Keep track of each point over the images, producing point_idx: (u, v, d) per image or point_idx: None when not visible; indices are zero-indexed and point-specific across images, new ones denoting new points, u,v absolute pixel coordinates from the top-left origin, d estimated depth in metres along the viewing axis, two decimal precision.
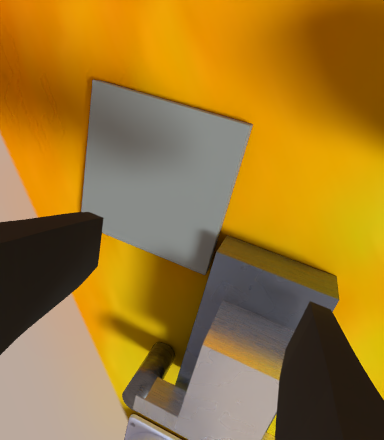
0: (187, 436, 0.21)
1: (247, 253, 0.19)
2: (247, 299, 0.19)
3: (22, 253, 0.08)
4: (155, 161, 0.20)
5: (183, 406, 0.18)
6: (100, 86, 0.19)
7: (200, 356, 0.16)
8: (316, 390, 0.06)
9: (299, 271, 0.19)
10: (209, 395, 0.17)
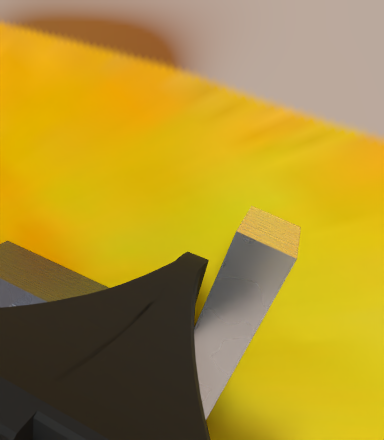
0: None
1: None
2: None
3: None
4: None
5: None
6: None
7: None
8: None
9: None
10: None
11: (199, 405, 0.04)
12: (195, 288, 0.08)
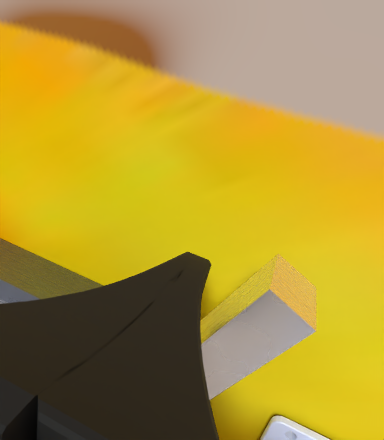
0: None
1: None
2: None
3: None
4: None
5: None
6: None
7: None
8: None
9: None
10: None
11: (209, 410, 0.04)
12: (200, 290, 0.08)
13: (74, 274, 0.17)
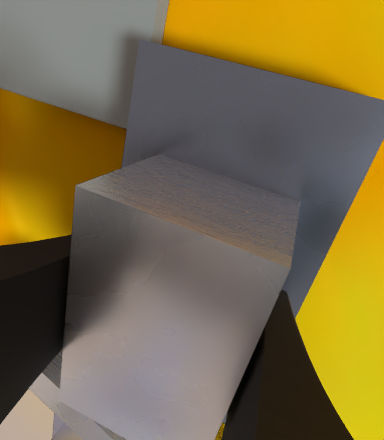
0: (86, 439, 0.13)
1: None
2: (203, 145, 0.09)
3: (64, 273, 0.08)
4: None
5: (65, 353, 0.09)
6: None
7: (76, 220, 0.07)
8: (255, 362, 0.07)
9: None
10: (108, 321, 0.08)
11: None
12: (299, 333, 0.07)
13: None
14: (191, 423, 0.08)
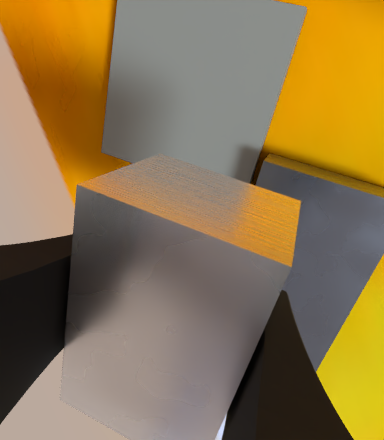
0: None
1: (297, 166, 0.17)
2: None
3: (64, 273, 0.08)
4: (190, 65, 0.17)
5: (66, 352, 0.09)
6: None
7: (77, 219, 0.07)
8: (255, 362, 0.07)
9: (358, 183, 0.16)
10: (109, 320, 0.08)
11: None
12: (299, 333, 0.07)
13: None
14: (192, 421, 0.08)
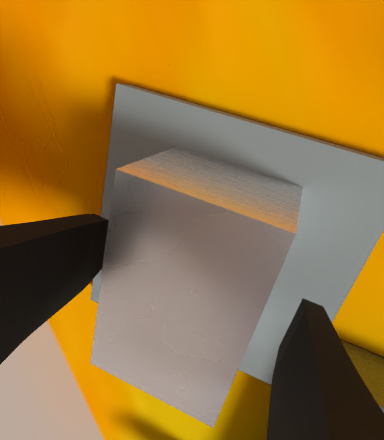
0: None
1: (382, 382, 0.11)
2: None
3: (29, 256, 0.08)
4: None
5: (99, 318, 0.10)
6: (129, 94, 0.11)
7: (115, 199, 0.08)
8: (306, 385, 0.07)
9: None
10: (139, 286, 0.09)
11: None
12: None
13: None
14: (209, 375, 0.09)
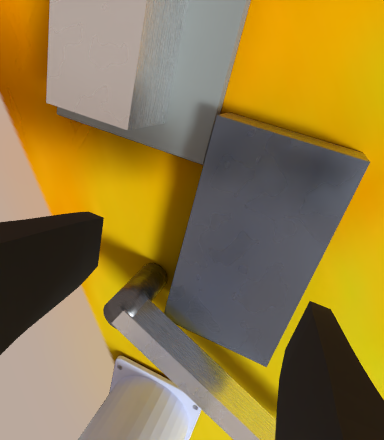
0: (164, 370, 0.19)
1: (254, 123, 0.16)
2: (253, 178, 0.15)
3: (22, 253, 0.08)
4: None
5: (49, 55, 0.14)
6: None
7: None
8: (316, 390, 0.06)
9: (318, 141, 0.15)
10: (73, 14, 0.13)
11: None
12: None
13: None
14: (121, 79, 0.14)
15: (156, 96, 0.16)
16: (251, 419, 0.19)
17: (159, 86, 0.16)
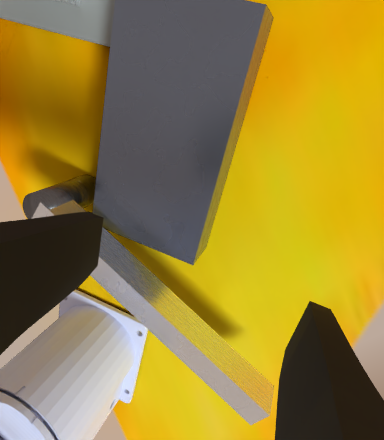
0: None
1: None
2: (159, 43, 0.15)
3: (22, 253, 0.08)
4: None
5: None
6: None
7: None
8: (316, 390, 0.06)
9: None
10: None
11: None
12: None
13: (220, 191, 0.19)
14: None
15: None
16: (175, 316, 0.18)
17: None
